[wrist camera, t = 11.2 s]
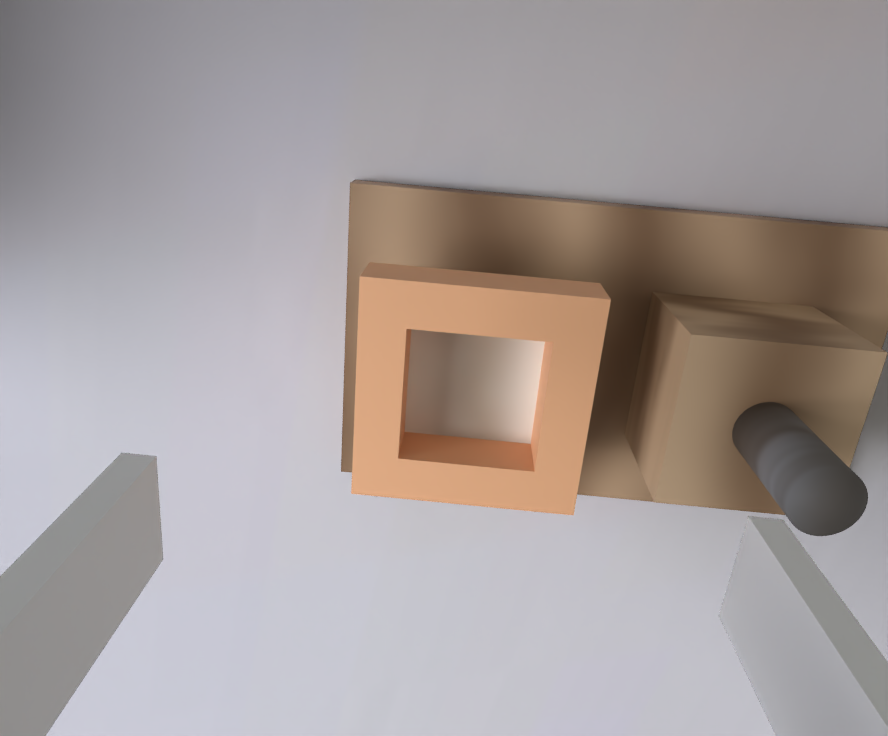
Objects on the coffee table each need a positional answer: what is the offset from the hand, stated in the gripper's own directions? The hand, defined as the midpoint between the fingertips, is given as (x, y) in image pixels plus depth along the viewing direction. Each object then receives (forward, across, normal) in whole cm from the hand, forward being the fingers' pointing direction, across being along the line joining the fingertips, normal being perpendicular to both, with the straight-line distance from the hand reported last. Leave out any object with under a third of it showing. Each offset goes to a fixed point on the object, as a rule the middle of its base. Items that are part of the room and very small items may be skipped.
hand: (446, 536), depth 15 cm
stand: (+18, +7, -2) cm, 19 cm away
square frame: (+13, +1, -2) cm, 14 cm away
